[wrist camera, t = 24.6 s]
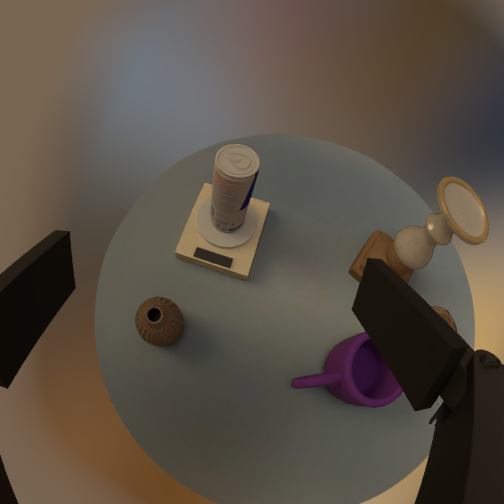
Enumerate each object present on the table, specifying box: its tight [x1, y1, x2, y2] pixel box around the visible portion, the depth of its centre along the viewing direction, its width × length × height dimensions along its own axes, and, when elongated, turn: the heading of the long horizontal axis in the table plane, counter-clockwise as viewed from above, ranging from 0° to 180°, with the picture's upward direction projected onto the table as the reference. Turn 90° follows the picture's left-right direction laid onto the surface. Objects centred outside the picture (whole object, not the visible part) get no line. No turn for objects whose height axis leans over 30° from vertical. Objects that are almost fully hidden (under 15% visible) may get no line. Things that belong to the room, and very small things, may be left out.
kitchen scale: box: [175, 183, 270, 280], centre depth 51 cm, size 12×14×3 cm
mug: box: [291, 332, 403, 408], centre depth 41 cm, size 17×11×10 cm, turn 97°
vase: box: [135, 297, 184, 346], centre depth 41 cm, size 7×7×9 cm
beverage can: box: [210, 144, 260, 232], centre depth 43 cm, size 6×6×15 cm
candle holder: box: [349, 176, 489, 283], centre depth 44 cm, size 11×11×24 cm
